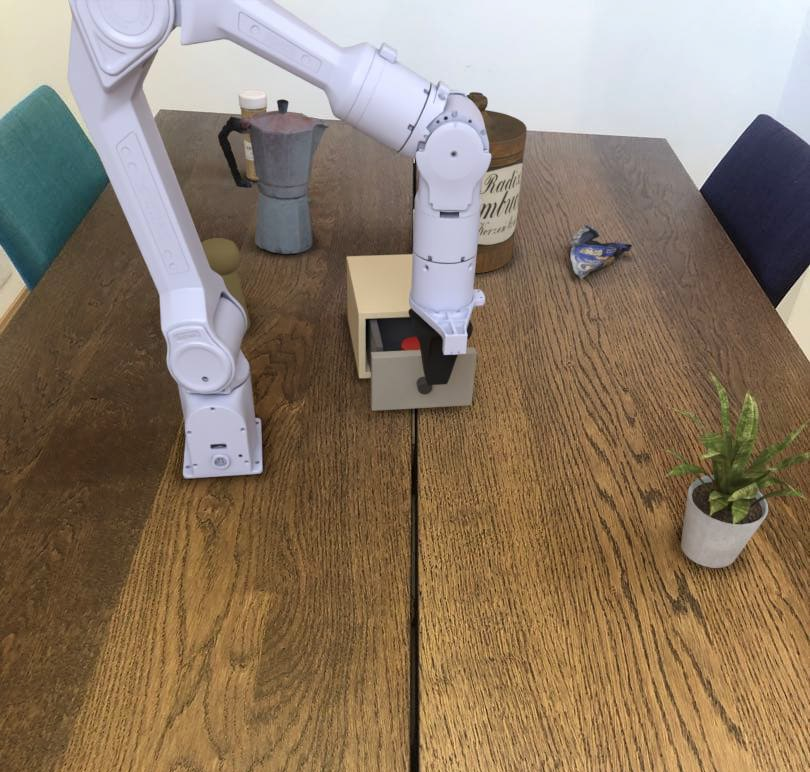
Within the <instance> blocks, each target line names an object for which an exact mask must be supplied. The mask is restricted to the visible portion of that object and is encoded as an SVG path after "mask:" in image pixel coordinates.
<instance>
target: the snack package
mask: <svg viewBox="0 0 810 772" xmlns="http://www.w3.org/2000/svg"><path fill="white" fill-rule="evenodd" d="M597 238H600V234H599V232H598V230H597V229H596V227H594V226H592V225H588V224H585V225H584V226H583V227H582V228H581V229H579V230H577V232H576V233H575V234H574V235H573V237H572V238H571V240H570V245H572V247H571V251H570V262H571V264H572V270H573V272H574V275H576V276H577V277H578V278H579V280H583V278H585V277H586V276H588V275H589V274H590V273H591V272H593V271H597V270H600V269H601V268H605V267H606V266H610V265H612V264H613V263H614V262H616V260H617V259H619V258H620V257H621V256H623V254H624V253H625V252H629V251H630V250H631V249H632V248H633V247H632V246H633V245H632V244H631V243H629V244H627V243H621V242H617V241H613V242H604V243H602V242H599V241H597V240H594V239H597ZM624 257H626V258H627V257H628V256H626V255H624Z"/></svg>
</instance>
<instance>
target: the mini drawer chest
mask: <svg viewBox="0 0 810 772" xmlns="http://www.w3.org/2000/svg"><path fill="white" fill-rule="evenodd" d="M412 258H413V253H409V254H379V255H378V254H377V255H346V296H347V297H346V299H347V303H346V304H347V307H346V308H347V323H348V327H349V332H350V338H351V345H352V349H353V353H354V360H355V364H356V370H357V375H358V379H371V372H370V367H369V362H368V358H367V353H366V319H373V318H397V317H410V316H409V313H408V312H409V309H411V307H410V305H409V293H410V291H411V286H412Z"/></svg>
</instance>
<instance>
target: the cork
mask: <svg viewBox="0 0 810 772" xmlns="http://www.w3.org/2000/svg"><path fill="white" fill-rule="evenodd" d="M201 244H202V247H203V249H204V252H205V255H206V257H207V260H208V263H209V265H210V268H211V269H212V270H213V271H214V272H216V273H217V274H219V275H220V276H221V277H222V278H223V281H224V283H225V286H226V288H227V290H228V291H229V293H230V294H231V295H232V296H233V297H234V298H235V299H236V300H237V301H238V302H239V303H240V305H241V306H242V307H243V309H244V311H245V313H246V316H247V330H246V332H247V331H248V330H249V329H250V328H251V323H252V322H251V319H250V316H249V312H248V308H247V304H246V300H245V296H244V292H243V288H242V284H241V280H240V276H239V272H238V269H237V268H238V267H239V265H240V262H241V261H240V260H241V255H240V254H241V253H240V250H239V248H238V246H237V245H236V243H235V242H234V241H232V240H230V239H227V238H224V237H213V238H208V239H205V240H203V241H202V242H201Z"/></svg>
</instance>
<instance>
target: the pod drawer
mask: <svg viewBox="0 0 810 772" xmlns="http://www.w3.org/2000/svg"><path fill="white" fill-rule="evenodd" d="M410 337H416V334H415V332H414V329H413V326H412V323H411V320H410V317H397V318H373V319H366V353H367V358H368V362H369V367H370V372H371V378H370V408H371V411H372V412H376V411H394V410H410V409H428V408H429V409H431V408H447V407H464V406H472V404H473V396H474V395H473V393H474V385H475V375H476V367H477V366H476V365H477V358H478V357H477V356H478V352H477V350H476V347H474V346H473V347H467V348H466V354H458V356H457V359H456V361H455V364H454V367H453V370H452V373H451V376H450V379H449V381H448V383H447V384H443V385H428V384H427V381H426V378H425V375H424V370H423V364H422V357H421V350H407V351H401V344H402V342H403V341H404V340H405V339H407V338H410Z"/></svg>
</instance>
